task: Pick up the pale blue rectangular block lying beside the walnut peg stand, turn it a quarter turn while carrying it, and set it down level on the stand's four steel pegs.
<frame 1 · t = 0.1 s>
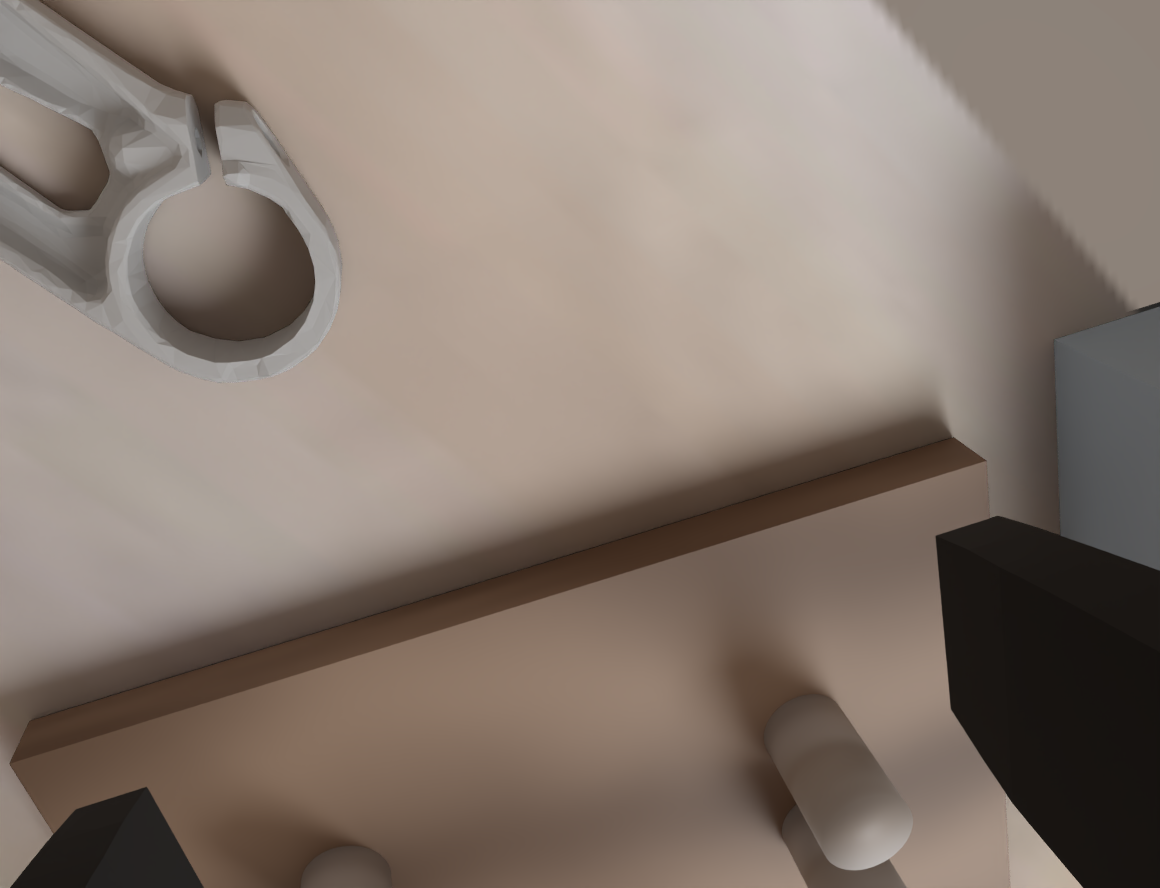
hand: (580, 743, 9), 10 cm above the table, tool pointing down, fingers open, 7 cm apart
pale blue rectangular block: (1139, 584, 23), on the table
peg stand: (583, 809, 22), on the table
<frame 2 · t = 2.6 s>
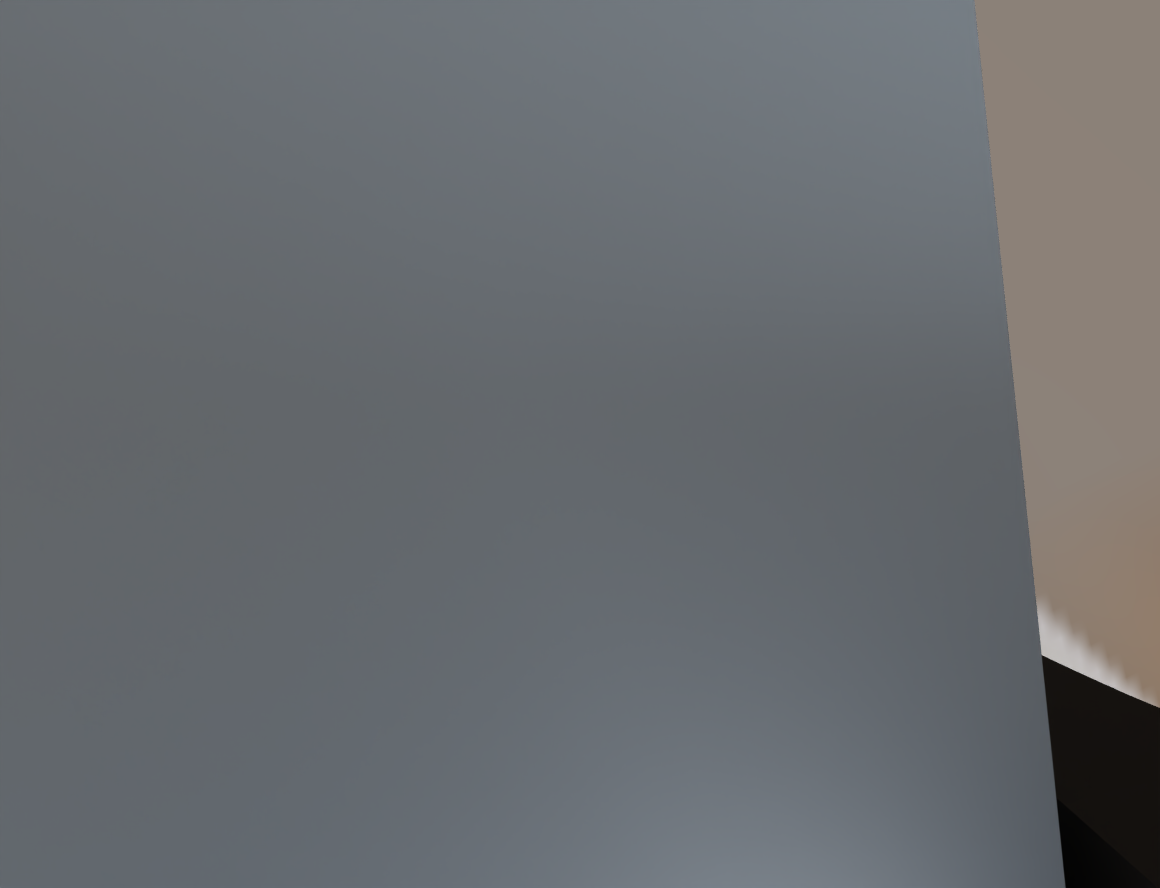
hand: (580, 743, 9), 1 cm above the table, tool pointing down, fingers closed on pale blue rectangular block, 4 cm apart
pale blue rectangular block: (552, 648, 10), on the table, touching gripper
when the fingers open (7 cm above the table, at t = 7.6 s): pale blue rectangular block stays where it is, resting on peg stand.
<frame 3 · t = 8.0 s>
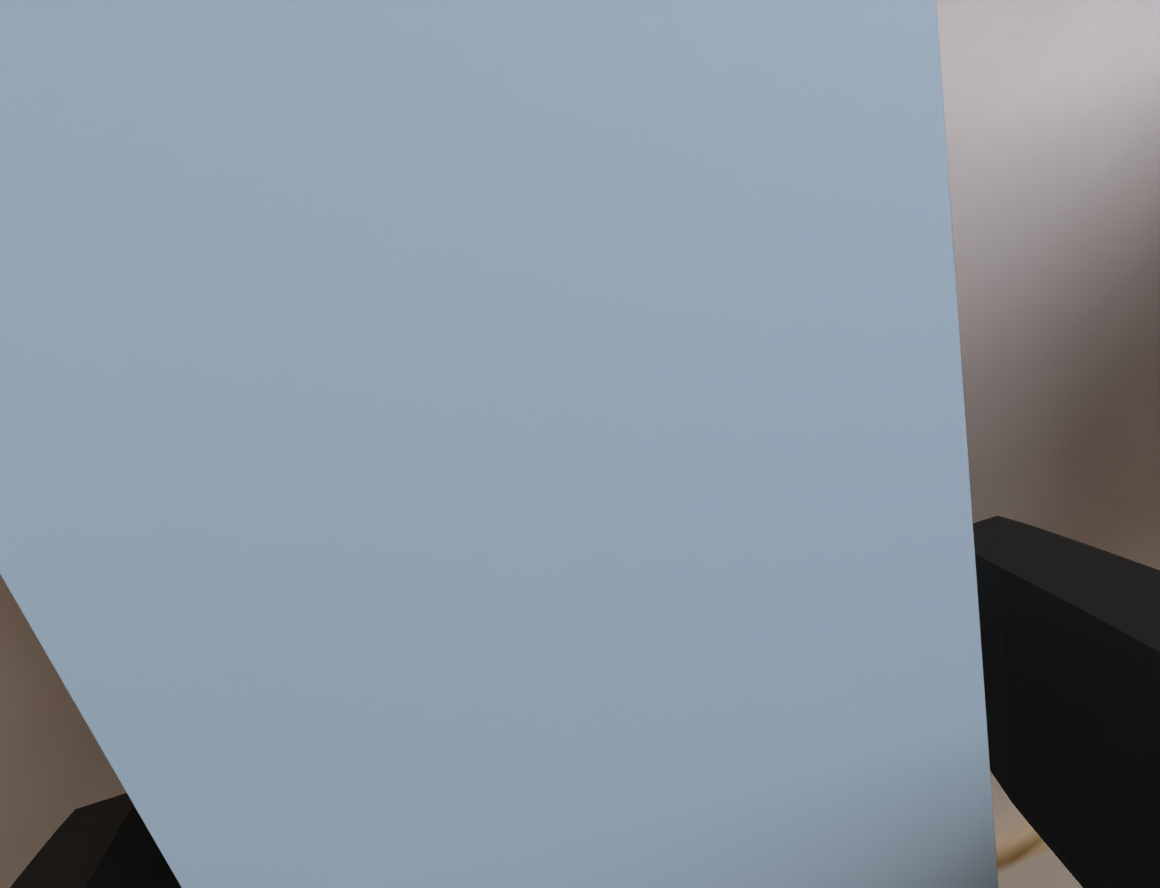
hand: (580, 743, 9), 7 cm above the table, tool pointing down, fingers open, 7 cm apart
pale blue rectangular block: (544, 600, 11), point 4 cm above the table, touching peg stand
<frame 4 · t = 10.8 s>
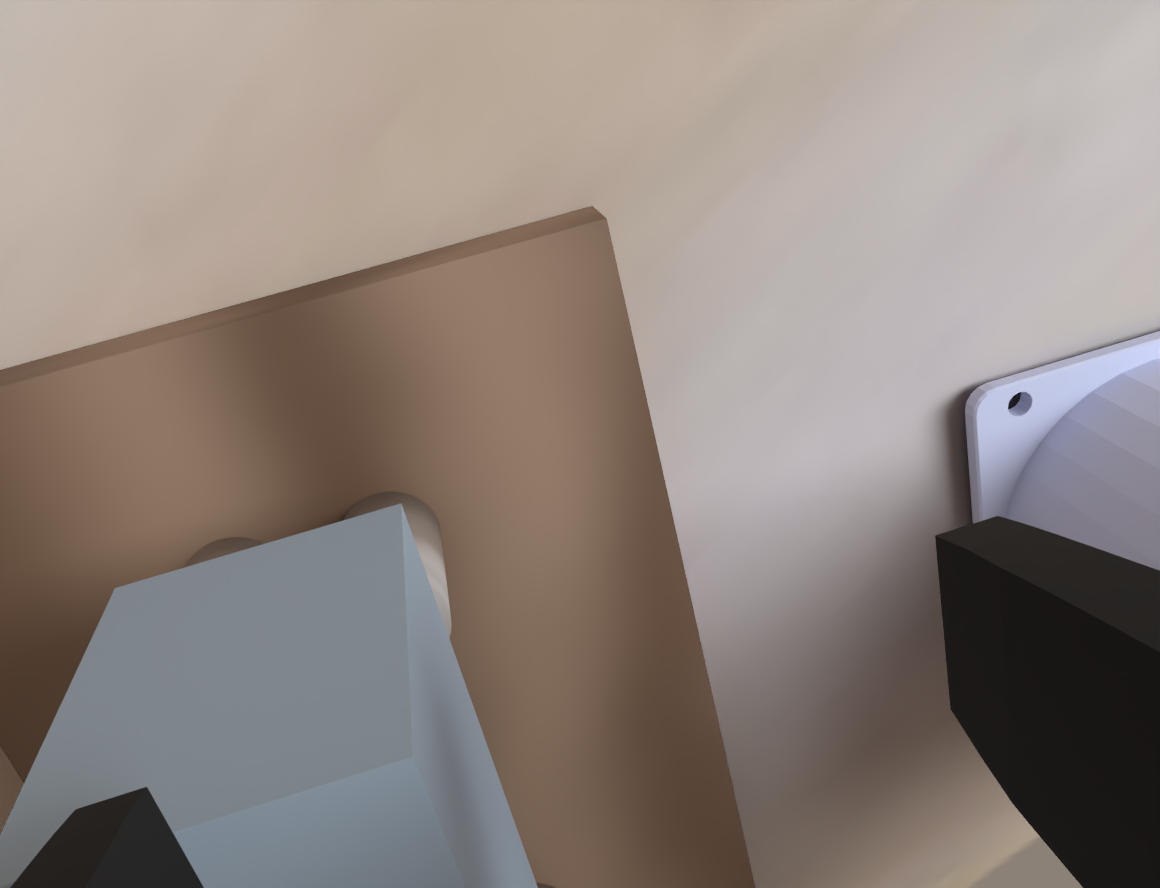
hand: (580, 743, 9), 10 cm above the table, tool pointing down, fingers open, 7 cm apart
pale blue rectangular block: (406, 882, 17), point 4 cm above the table, touching peg stand
peg stand: (398, 727, 21), on the table
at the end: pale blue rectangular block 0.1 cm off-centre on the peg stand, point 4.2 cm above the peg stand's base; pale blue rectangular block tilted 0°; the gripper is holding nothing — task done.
